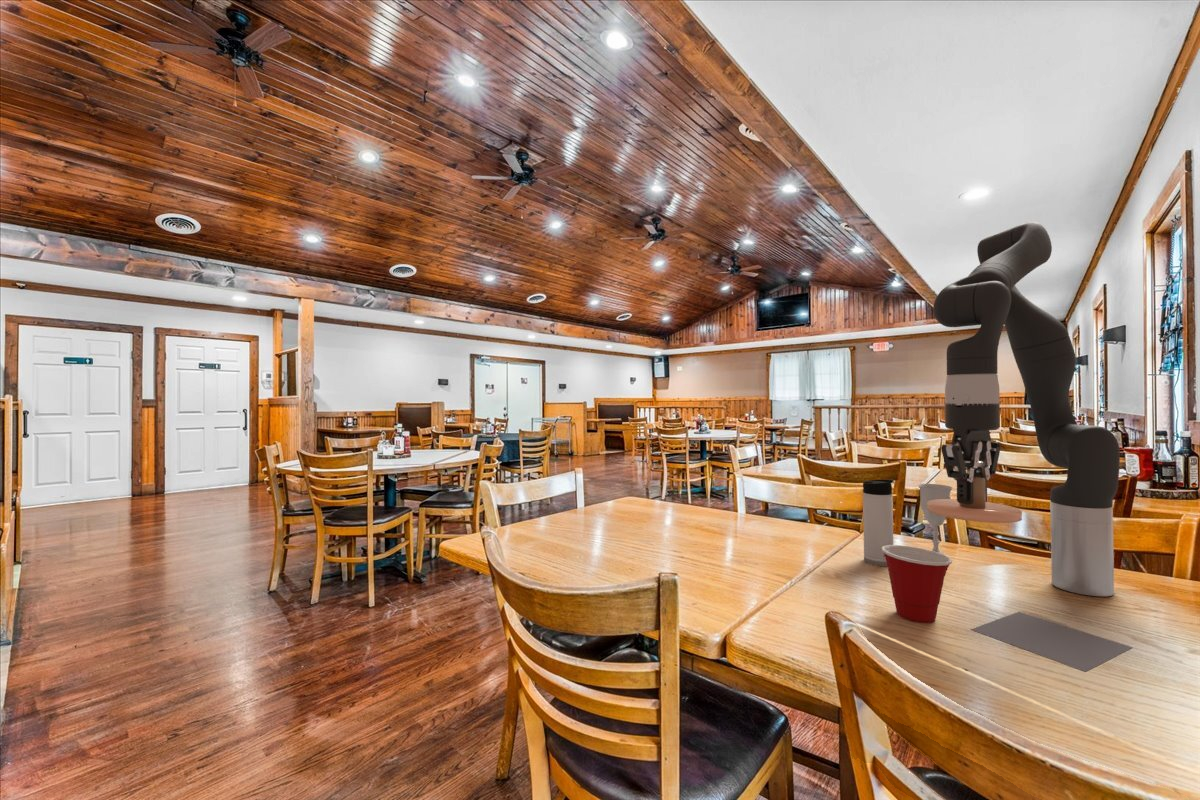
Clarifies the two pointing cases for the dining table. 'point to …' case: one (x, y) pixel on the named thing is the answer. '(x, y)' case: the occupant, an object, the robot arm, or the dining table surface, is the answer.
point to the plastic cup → (916, 580)
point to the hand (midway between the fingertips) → (971, 501)
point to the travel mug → (877, 520)
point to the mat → (1053, 640)
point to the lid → (975, 507)
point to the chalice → (926, 495)
